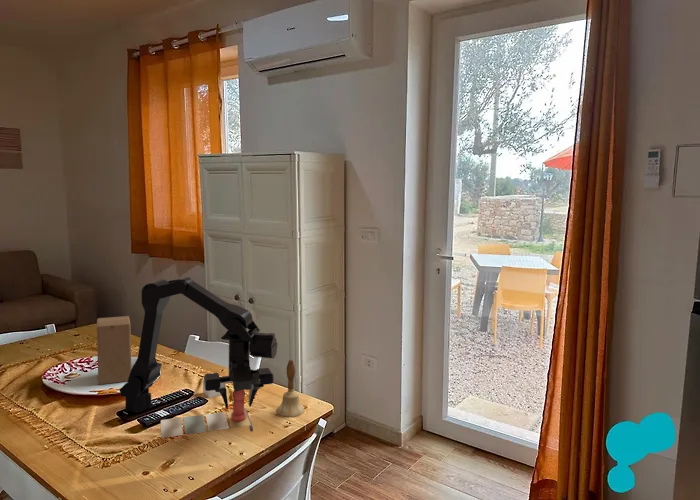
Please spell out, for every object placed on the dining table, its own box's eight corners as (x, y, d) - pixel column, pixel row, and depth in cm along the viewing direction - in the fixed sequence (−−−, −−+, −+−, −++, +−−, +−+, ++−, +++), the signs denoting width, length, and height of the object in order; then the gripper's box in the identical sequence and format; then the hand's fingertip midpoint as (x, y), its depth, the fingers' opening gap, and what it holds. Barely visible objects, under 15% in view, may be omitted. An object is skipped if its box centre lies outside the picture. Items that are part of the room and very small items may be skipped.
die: (208, 401, 154) (208, 386, 154) (202, 395, 158) (202, 380, 158) (224, 398, 157) (224, 382, 156) (218, 392, 161) (218, 377, 160)
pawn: (232, 422, 139) (232, 392, 138) (230, 416, 143) (230, 386, 142) (246, 420, 141) (247, 390, 139) (244, 414, 144) (244, 384, 143)
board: (159, 444, 129) (159, 439, 129) (159, 422, 140) (159, 418, 140) (252, 430, 138) (252, 426, 137) (245, 411, 149) (245, 407, 148)
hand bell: (282, 419, 145) (283, 366, 143) (272, 407, 152) (274, 357, 150) (308, 414, 149) (310, 363, 147) (298, 402, 156) (299, 353, 154)
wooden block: (131, 381, 167) (130, 323, 164) (98, 385, 162) (96, 326, 160) (130, 370, 176) (129, 315, 173) (98, 374, 171) (96, 317, 168)
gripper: (207, 368, 128) (207, 425, 131) (278, 361, 135) (277, 416, 137) (203, 353, 139) (203, 406, 141) (269, 348, 145) (268, 399, 148)
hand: (238, 407), depth 141 cm, fingers open, 6 cm apart
